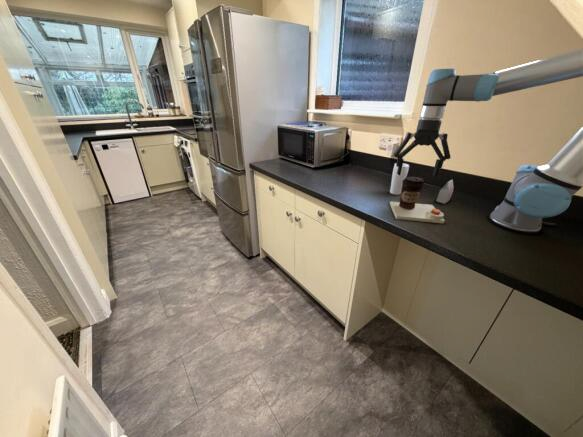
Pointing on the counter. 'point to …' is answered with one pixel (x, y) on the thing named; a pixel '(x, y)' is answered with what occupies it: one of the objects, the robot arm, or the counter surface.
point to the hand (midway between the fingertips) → (416, 175)
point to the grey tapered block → (446, 192)
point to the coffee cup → (410, 192)
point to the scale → (416, 213)
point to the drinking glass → (398, 179)
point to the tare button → (435, 211)
